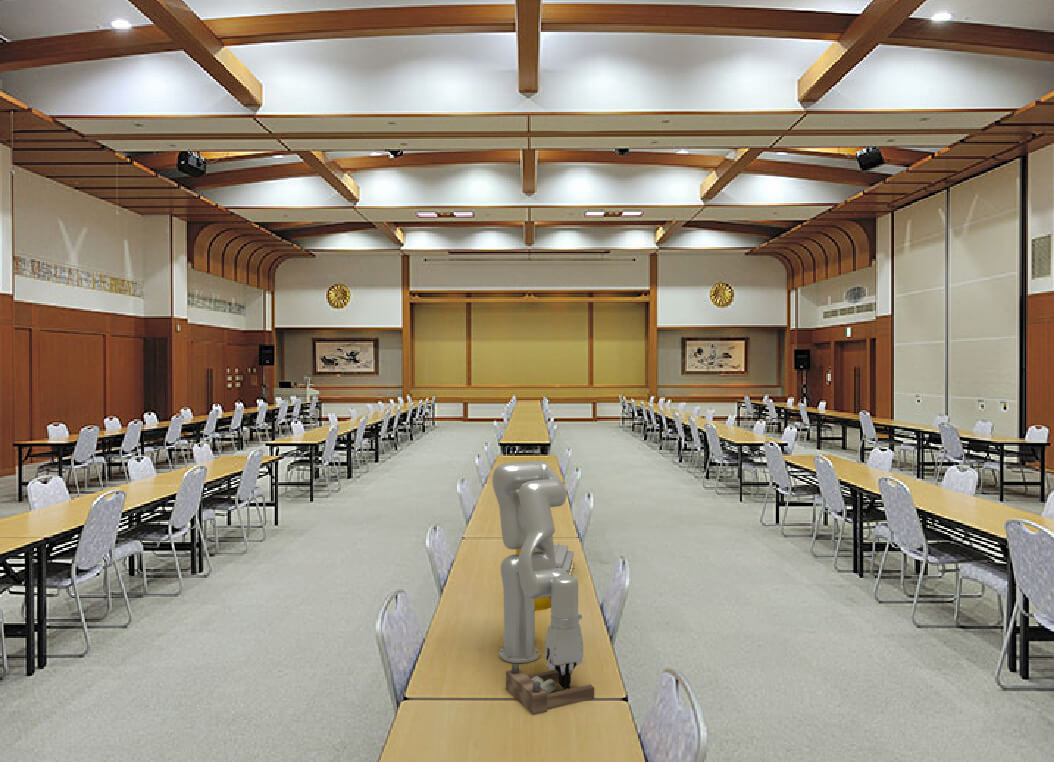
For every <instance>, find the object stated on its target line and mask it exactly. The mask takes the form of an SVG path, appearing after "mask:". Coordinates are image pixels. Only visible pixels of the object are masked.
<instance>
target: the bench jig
mask: <svg viewBox="0 0 1054 762" xmlns="http://www.w3.org/2000/svg"><path fill="white" fill-rule="evenodd" d="M535 676H538V677H540V678H541V679H543V682H544V681H546V680H548V679H552V680H553V681H554V682H555V684H559V672H557V671H556V670H547V671H543V672H538V673H536V672H535V673H533V674H528V675H527V674H526V673H525V672H524V671H523V670H521V669H520V663H513V664H511V669H510V670H506V671H505V689H506V690H507V692H509V694H511V695H512V696H513V697H514V698H515V699H516V700H517V701H518V702H519V703H521V705H522V706H523V707H525V708H526V709H527V710H528V712H530V713H531V715H533V716H534V715H538V714H541V713H546V712H548V710H550V709H553V708H559V707H563V706H567V705H572V704H577V703H581V702H583V701H588V700H589V701H590V700H592V699H595V687H594V685H592V684H586V685H582V686H578V687H573V688H569V689H568V688H567V689H565V690H564V689H563V690H560V691H554V692H551V693H549V694H547V692H546V691H545V690H544V689H542V688H541V687H540V682H534V681H533V680H532V678H533V677H535Z"/></svg>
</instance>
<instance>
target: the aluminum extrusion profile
mask: <svg viewBox="0 0 1054 762" xmlns="http://www.w3.org/2000/svg"><path fill="white" fill-rule="evenodd" d="M554 553H555V562H556V568H563V569H565V570H566V571H567V572H568V574H569V572H570V569H571V565H572V562H574V560H573V558H574V555H575V554H574V553H575V551H574V550H569V545H567V544H566V545H565V544H564V545H561V544H560V543H558V542H557V544H554ZM574 566H575V564H573V568H572V572H571V575H570V576H572V574H573V570H574Z"/></svg>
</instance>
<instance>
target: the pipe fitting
mask: <svg viewBox="0 0 1054 762" xmlns="http://www.w3.org/2000/svg"><path fill="white" fill-rule="evenodd" d="M532 680H533V681H534V682H540V687H541V688H542V689H544V690H545V691H546V692H547V694H550V693H554V692H555V690H556V689H557V688H556V687H557V683H555V682H554V681H553V680H552V679H548V680H546V681H544V682H543V679H541V678H540V677H538V676H535V677H533V678H532Z"/></svg>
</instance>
